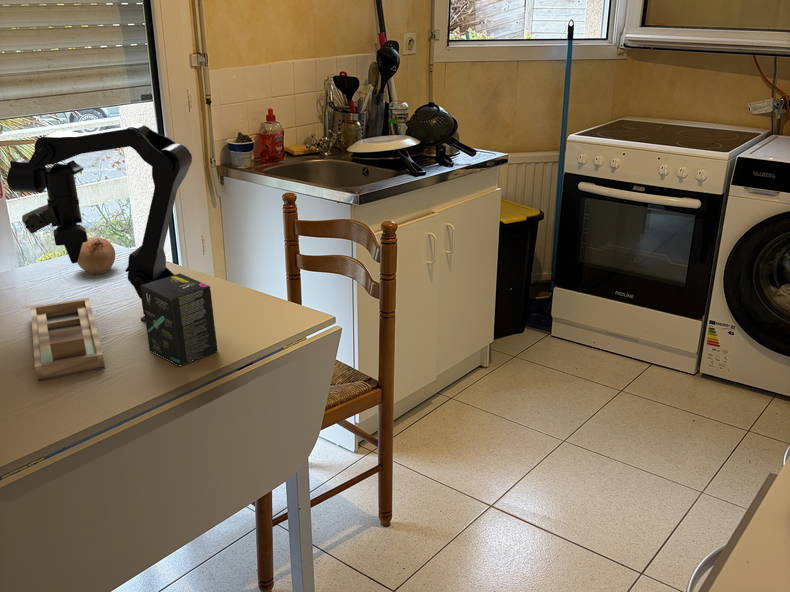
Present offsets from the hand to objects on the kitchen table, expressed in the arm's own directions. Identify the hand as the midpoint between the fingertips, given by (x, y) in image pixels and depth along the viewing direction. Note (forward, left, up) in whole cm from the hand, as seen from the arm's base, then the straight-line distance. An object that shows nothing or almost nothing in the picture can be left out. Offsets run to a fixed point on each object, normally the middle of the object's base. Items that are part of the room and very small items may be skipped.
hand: (74, 262), depth 170 cm
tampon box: (-32, +8, -12) cm, 35 cm away
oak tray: (-7, +13, -12) cm, 19 cm away
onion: (+14, -22, -12) cm, 29 cm away
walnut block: (-14, +20, -10) cm, 27 cm away
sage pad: (-14, +20, -12) cm, 27 cm away
